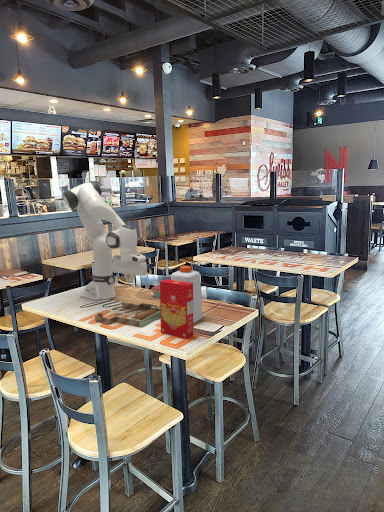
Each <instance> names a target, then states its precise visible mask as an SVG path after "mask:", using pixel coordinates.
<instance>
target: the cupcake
mask: <svg viewBox="0 0 384 512" xmlns="http://www.w3.org/2000/svg"><path fill="white" fill-rule="evenodd" d="M154 282H155V285H153V286H152V287H151V289H150V290H151V292H152V293H153V296H154V298H160V284H157V283H158V282H157V278H156V277H154Z"/></svg>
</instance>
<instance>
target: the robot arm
mask: <svg viewBox="0 0 384 512" xmlns="http://www.w3.org/2000/svg"><path fill="white" fill-rule="evenodd" d="M102 191H103V190H102V187H101V185H100V184H99V183H98V181H96V180H90V181H88V182H85V183H81V184H78V185H77V186H74V187H73V188H71V189H67V190H65V192H63V201H64V203H65V205H67V207H68V208H70V209H76V212H77V214H78V216H79V219H80V221H81V224H82V226H83V227H84V230H85V232H86V234H87V236H88V237H89V239H90V242H91V244H92V254H93V255H92V256H93V270H94V272H93V273H94V274H93V275H91V276H90V278H91V279H92V281H90V282H89V283H88V284H87V285H85V287H84V290H83V291H84V292H82V293H80V297H82V298H85V299H89V300H92V301H101V300H110V299H113V298H115V297H116V296H117V294H116V291H115V286H114V274H113V273H116V274H123V276H124V278H125V282H126V283H133V279H134V278H135V276H140V277H144V276H146V275H147V274H148V265H147V262H146V260H147V257H146V256H145V255H143V254H141V253H140V252H138V245H137V244H138V232H137V228H136V227H135V226H133V225H132V224H131V225H129V224H127V223H126V221H125V220H124V219H123V217H121V216H120V215H119V213H118V212H117V211H116V210H115V209H114V208H112V207H111V206H110V205H109V204H108V203H106V201H105V200H104V199H103V197H102V193H103V192H102ZM102 220H104V221H106V222H109V223H111V224H112V225H113V227H114V228H115V229H114V230H113V231H109V232H108V231H107V229H106V228H105V225H104V223H103V221H102ZM112 249H113V250H116V249H117V250H118V249H120V251H119V253H120V254H119V255H117V254H114V255H113V252H112V251H113V250H112Z"/></svg>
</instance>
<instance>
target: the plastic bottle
mask: <svg viewBox="0 0 384 512" xmlns="http://www.w3.org/2000/svg"><path fill="white" fill-rule="evenodd" d="M170 280H176V281H182V282H189V283H193V325H194V324H195V323H197V322H198V321H200V320H202V319H203V317H204V315H203V301H202V286H201V284H202V283H201V273H200V272H199V271H196V270H192V266H191V265H181V266H180V267H179V270H177V271H175V272H172V274H171V277H170Z"/></svg>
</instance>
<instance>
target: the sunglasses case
mask: <svg viewBox="0 0 384 512" xmlns="http://www.w3.org/2000/svg"><path fill="white" fill-rule="evenodd" d="M156 312H158V310H156V309H155V310H148V311H142V312H139V313H137V314H136V315H134V316H132V317H131V318H132V319H138V320H143V319H145V318H146V317H148V316H150V315H152V314H154V313H156Z"/></svg>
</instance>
